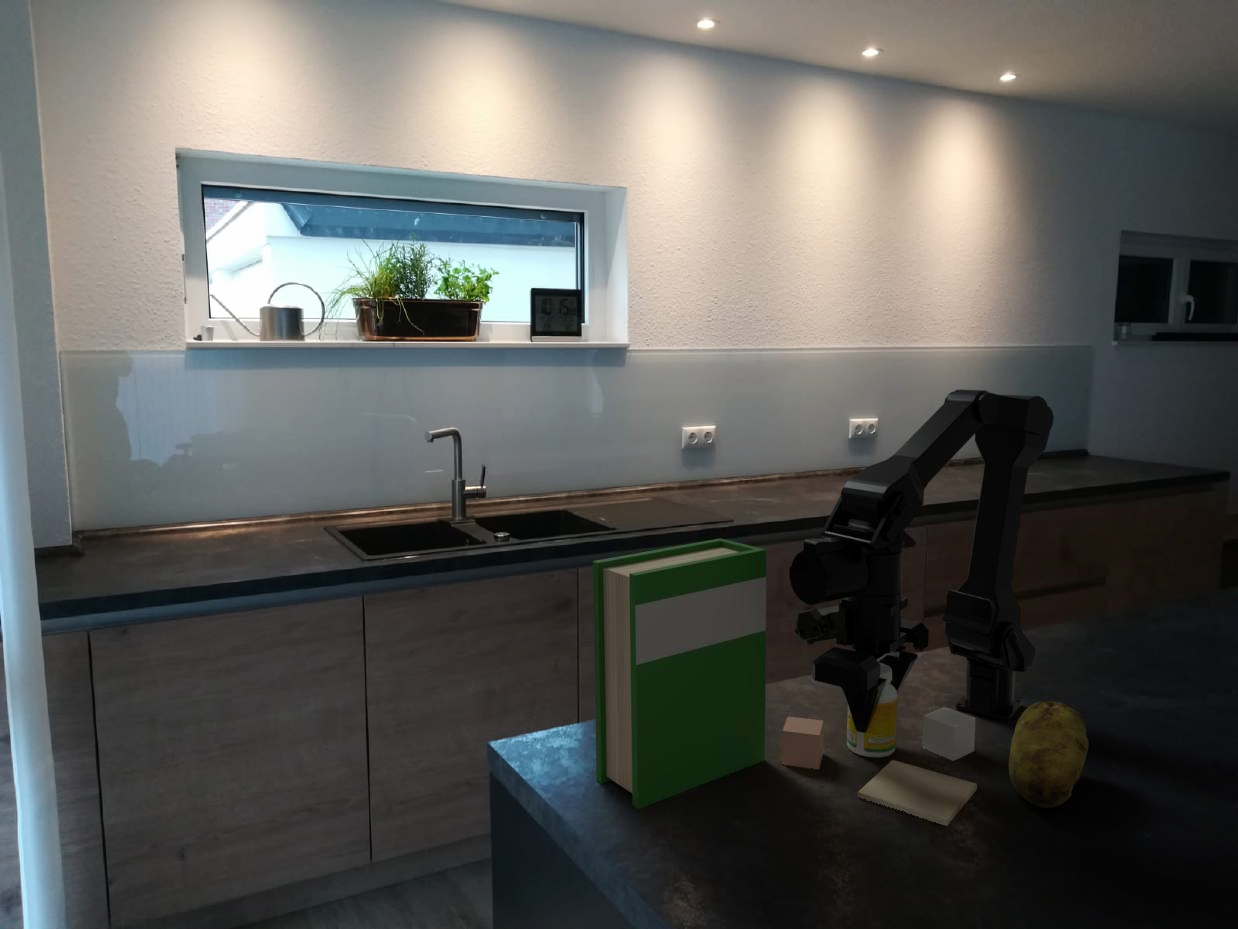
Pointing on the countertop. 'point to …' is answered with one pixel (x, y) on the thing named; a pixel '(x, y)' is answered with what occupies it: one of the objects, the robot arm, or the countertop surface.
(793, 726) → the terracotta block
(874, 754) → the supplement bottle
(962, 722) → the grey block
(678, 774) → the hardback book
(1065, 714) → the potato
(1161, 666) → the countertop surface
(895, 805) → the coaster
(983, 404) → the robot arm
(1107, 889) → the countertop surface
